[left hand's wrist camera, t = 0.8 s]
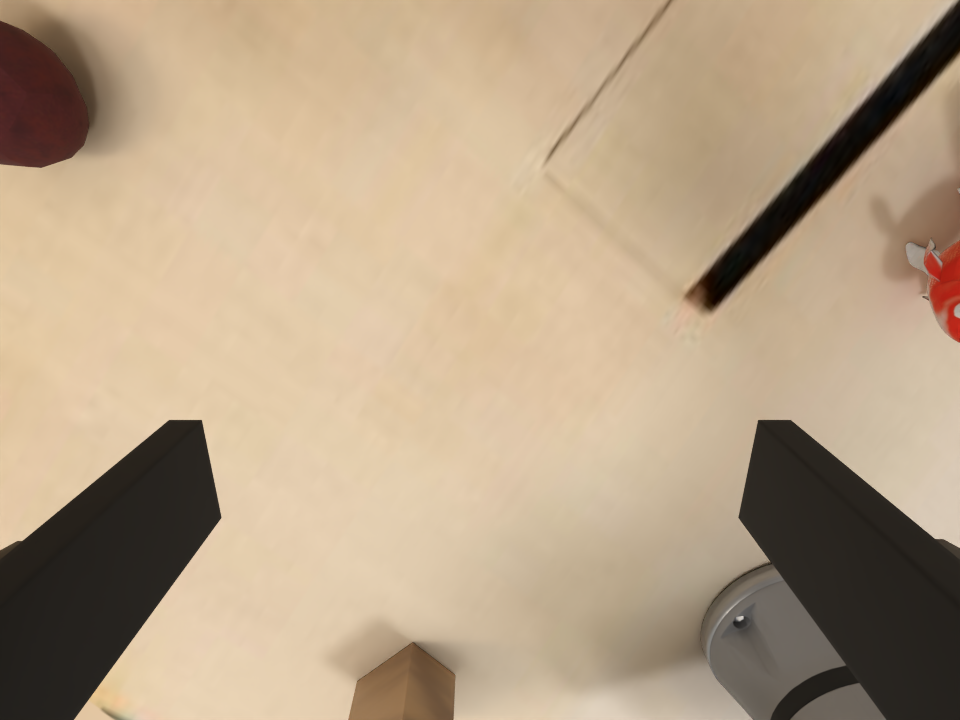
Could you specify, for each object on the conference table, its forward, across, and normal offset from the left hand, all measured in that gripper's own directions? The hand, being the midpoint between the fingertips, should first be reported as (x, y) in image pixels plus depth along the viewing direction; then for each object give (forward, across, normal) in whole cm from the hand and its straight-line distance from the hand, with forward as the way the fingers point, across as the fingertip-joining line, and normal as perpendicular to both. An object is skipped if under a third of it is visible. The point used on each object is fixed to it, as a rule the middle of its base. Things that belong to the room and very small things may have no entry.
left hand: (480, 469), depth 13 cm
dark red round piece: (+25, +26, -10) cm, 38 cm away
